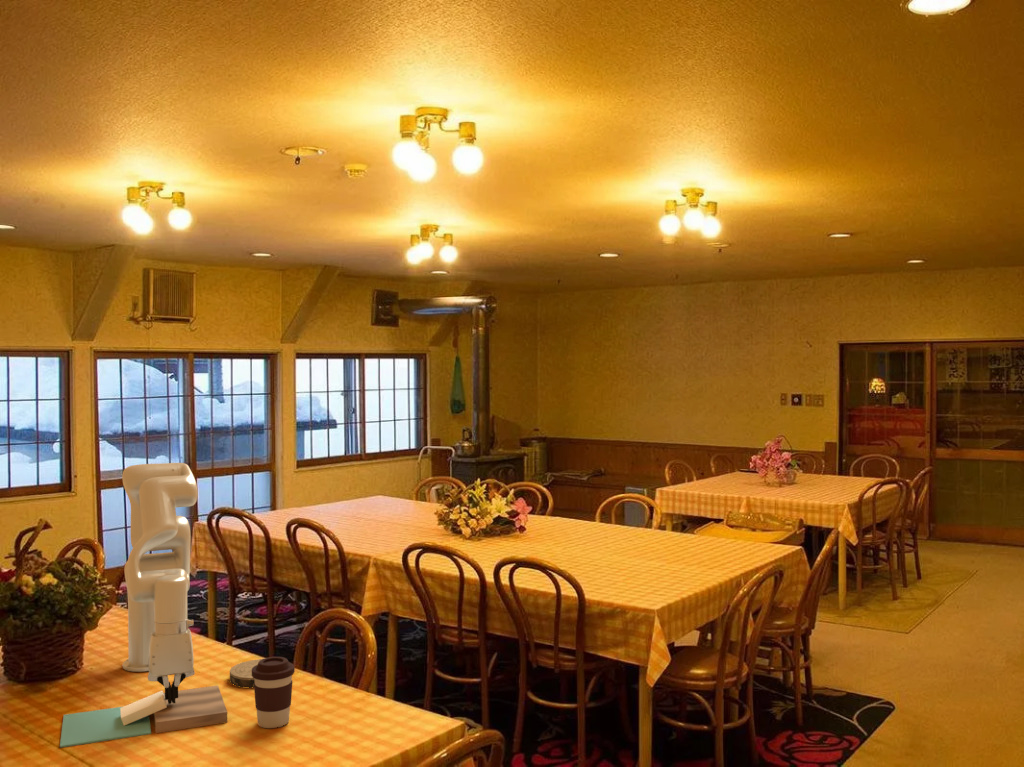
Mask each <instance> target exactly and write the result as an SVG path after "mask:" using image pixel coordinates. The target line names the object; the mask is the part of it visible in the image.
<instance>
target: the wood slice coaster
mask: <svg viewBox="0 0 1024 767" xmlns="http://www.w3.org/2000/svg"><path fill="white" fill-rule="evenodd" d="M262 659H263V658H258V659H252V660H251V659H250V660H247V661H243V662H240V663H237V664H235V665H233V666H232V667H231V668H230V670H229V683H230V684H231V683H232V684H231V685H233V684H234V685H236V686H235V687H238V686H240V687H239V688H243V687H249V688H248V689H254V683H255V679H254V678H253V677H252V668H253V667H254V666H256V665H258V662H259V661H260V660H262ZM234 685H233V686H234ZM252 687H253V688H252Z"/></svg>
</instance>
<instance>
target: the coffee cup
mask: <svg viewBox="0 0 1024 767" xmlns="http://www.w3.org/2000/svg"><path fill="white" fill-rule="evenodd" d="M261 659H262V660H260V661H259V662H258V665H256V666H254V667H253V668H252V677H253V678H254V679H255V683H254V688H253V691H254V703H255V710H256V716H257V718H256V719H257V720H256V721H257V725H258V726H259V727H260V728H264V729H277V727H278V728H281V727H284V726H286V725H287V724H288V723H289V722H290V710H291V705H292V693H293V675H294V674H295V671H296V670H295V667H296V666H295V664H294V663H292V662H290V661H289V660H288V658H286V657H284V656H269V657H265V658H261ZM285 724H286V725H285ZM283 725H284V726H283Z"/></svg>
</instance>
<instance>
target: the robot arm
mask: <svg viewBox="0 0 1024 767" xmlns="http://www.w3.org/2000/svg"><path fill="white" fill-rule="evenodd" d="M121 477H122V485H123V488H124V490H125V493H126V495H127V497H128V499H129V504H130V543H131V546H132V549H131V550H130V553H129V555H128V558H127V561H125V562H126V563H125V564H124V569H123V570H124V578H125V584H126V585H125V586H126V591H127V603H128V604H127V608H128V609H127V616H128V617H127V620H128V621H127V624H128V625H127V627H128V630H127V631H128V632H127V634H128V635H127V638H128V641H127V642H128V650H127V651H128V652H127V653H128V659H125V661H124V662H122V669H123V670H125V671H128V672H132V673H133V672H134V673H135V672H137V673H139V672H140V673H141V672H148V675H147V680H148V681H149V682H158V683H159V684H160V685H161V686H163V687H164V693H165V700H168V704H171V703H175V698H178V691H179V686H180V684H181V683H182V682H183V681H184V680H185V679H187V678H189V677H192V676H194V675H195V674H196V673H195V669H194V661H195V660H194V648H193V647H194V646H193V645H194V644H193V638H192V632H191V629H189V627H191V626H192V627H193V626H194V625H195V624H194V622H195V621H194V619H189V618H188V591H189V590H190V583H191V581H190V573H191V572H190V571H191V542H192V541H191V538H192V537H191V526H190V523H189V520H188V519H187V518H186V517H185V516H183V515H177V513H176V512H177V511H176V508H187V507H193V506H195V505H196V503H197V501H198V495H199V493H198V484H197V481H196V478H195V475H194V474H193V471H192V470H191V468H190V466H189V465H188V464H186V463H185V462H169V463H168V462H166V463H165V462H164V463H163V462H162V463H144V464H133V465H130V466H127V467H126V468H124V469H123V472H122V476H121ZM167 550H171V551H169V552H158V551H167ZM148 552H156V553H148ZM173 675H174V676H173ZM169 676H173V681H172V682H170V681H169Z"/></svg>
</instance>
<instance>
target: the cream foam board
mask: <svg viewBox="0 0 1024 767" xmlns="http://www.w3.org/2000/svg"><path fill="white" fill-rule="evenodd" d="M163 693H164V691H163V690H160V691H157V692H155V693H152V694H151V695H148V696H146V697H143V698H140V699H138V700H136V701H134V702H132V703H130V704H127V705H124V706H121V707H122V708H120V711H121V720H122V723H123V725H124V726H125V725H127V724H129V723H132V722H134V721H136V720H138V719H141V718H143V717H145V716H148V715H149V716H150V715H153V713H155V712H157V711H159V710H162V709H164V708H166V707H167V706H166V701H165V697H164V694H163Z"/></svg>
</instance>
